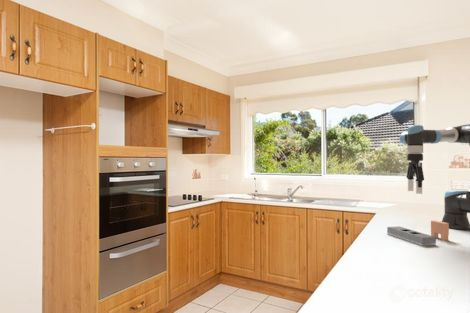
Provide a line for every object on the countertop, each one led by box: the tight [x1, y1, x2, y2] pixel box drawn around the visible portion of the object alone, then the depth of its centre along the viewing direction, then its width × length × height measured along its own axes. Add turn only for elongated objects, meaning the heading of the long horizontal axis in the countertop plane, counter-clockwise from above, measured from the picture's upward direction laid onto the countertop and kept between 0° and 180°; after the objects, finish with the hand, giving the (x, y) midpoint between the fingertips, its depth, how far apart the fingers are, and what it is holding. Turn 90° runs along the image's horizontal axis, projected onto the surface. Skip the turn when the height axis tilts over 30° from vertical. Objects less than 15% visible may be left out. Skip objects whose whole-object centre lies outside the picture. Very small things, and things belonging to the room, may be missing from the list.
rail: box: [387, 226, 437, 247], centre depth 163 cm, size 8×24×4 cm, turn 13°
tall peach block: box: [430, 220, 450, 242], centre depth 165 cm, size 3×8×9 cm, turn 13°
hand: (414, 192), depth 169 cm, fingers open, 13 cm apart
